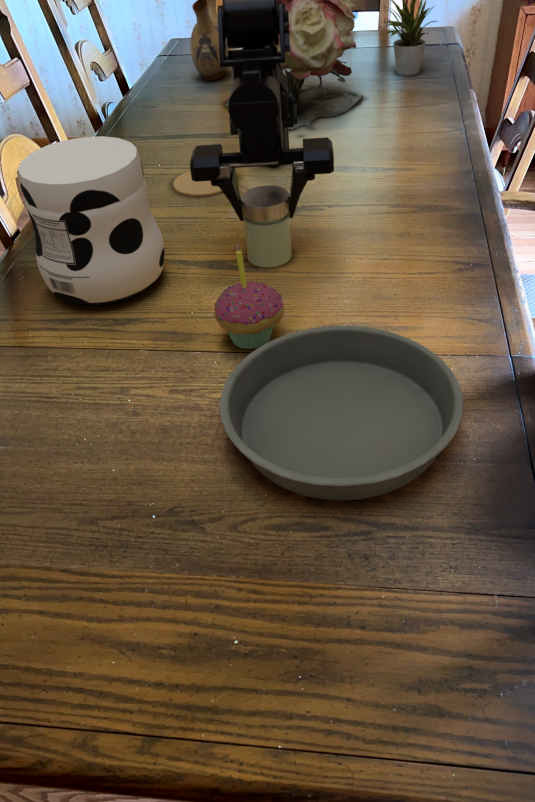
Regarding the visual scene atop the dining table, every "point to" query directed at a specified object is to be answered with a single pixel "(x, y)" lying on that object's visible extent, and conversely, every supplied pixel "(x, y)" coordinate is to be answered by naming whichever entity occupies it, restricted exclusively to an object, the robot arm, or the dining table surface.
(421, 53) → the house plant
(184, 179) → the coaster
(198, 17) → the ceramic vessel
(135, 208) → the milk container
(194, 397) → the dining table surface
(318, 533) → the dining table surface
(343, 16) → the rose bouquet
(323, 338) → the cake pan
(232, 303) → the cupcake
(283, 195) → the lid
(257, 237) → the jar
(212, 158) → the robot arm
